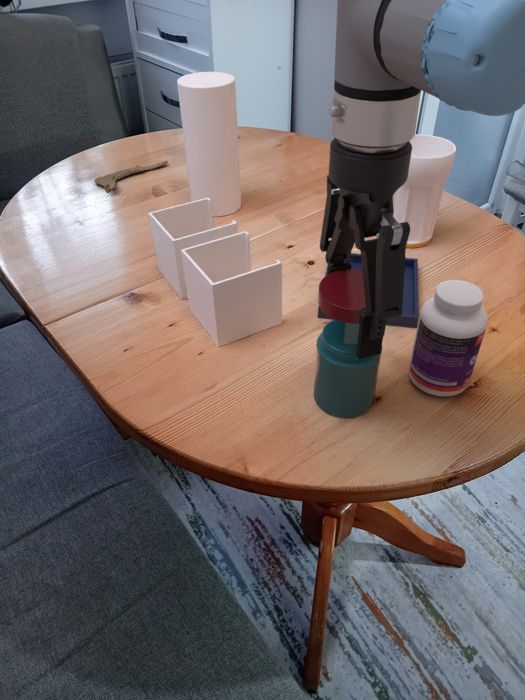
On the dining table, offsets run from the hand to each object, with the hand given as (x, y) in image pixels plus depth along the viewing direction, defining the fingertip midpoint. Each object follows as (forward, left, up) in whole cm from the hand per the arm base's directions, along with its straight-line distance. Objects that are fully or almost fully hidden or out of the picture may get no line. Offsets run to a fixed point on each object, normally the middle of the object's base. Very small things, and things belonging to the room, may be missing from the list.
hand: (351, 331), depth 64 cm
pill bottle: (+6, -12, -11) cm, 18 cm away
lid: (0, 0, +6) cm, 6 cm away
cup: (+45, -8, -11) cm, 47 cm away
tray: (+25, -2, -11) cm, 28 cm away
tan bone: (+62, +54, -11) cm, 83 cm away
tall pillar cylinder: (+52, +32, -11) cm, 62 cm away
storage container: (+20, +23, -11) cm, 33 cm away
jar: (0, 0, -11) cm, 11 cm away
